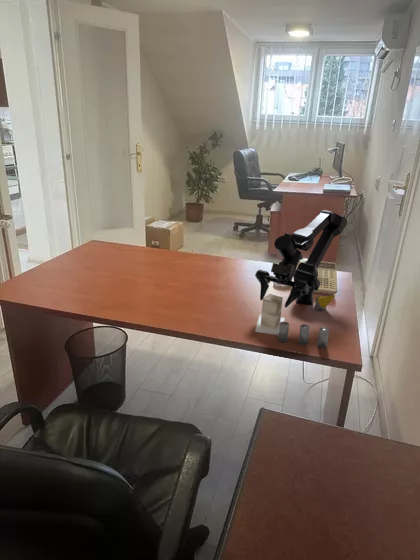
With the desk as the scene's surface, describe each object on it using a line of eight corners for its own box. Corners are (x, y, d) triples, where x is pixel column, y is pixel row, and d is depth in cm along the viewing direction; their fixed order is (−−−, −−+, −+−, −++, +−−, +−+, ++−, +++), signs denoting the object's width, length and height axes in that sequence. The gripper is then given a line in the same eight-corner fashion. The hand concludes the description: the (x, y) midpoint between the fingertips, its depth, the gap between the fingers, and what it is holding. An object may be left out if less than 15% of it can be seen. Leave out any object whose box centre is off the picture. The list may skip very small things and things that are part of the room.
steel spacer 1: (278, 336, 132) (280, 321, 130) (287, 338, 132) (289, 322, 129) (277, 341, 130) (279, 325, 127) (286, 342, 129) (288, 326, 127)
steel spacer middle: (298, 339, 131) (300, 323, 128) (307, 341, 130) (309, 325, 128) (297, 344, 128) (300, 328, 126) (307, 346, 127) (309, 329, 125)
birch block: (267, 319, 142) (269, 293, 138) (280, 323, 140) (282, 297, 136) (260, 324, 138) (262, 298, 134) (273, 328, 136) (276, 302, 132)
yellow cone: (317, 304, 156) (339, 293, 150) (318, 315, 153) (340, 304, 147) (308, 298, 154) (330, 286, 148) (309, 309, 151) (331, 297, 145)
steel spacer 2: (317, 342, 130) (319, 326, 127) (326, 344, 129) (329, 327, 127) (317, 347, 127) (319, 331, 124) (326, 348, 126) (329, 332, 124)
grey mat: (259, 315, 146) (259, 314, 145) (284, 319, 144) (284, 317, 143) (255, 331, 135) (255, 330, 135) (281, 335, 133) (281, 334, 133)
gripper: (259, 247, 138) (241, 287, 134) (310, 259, 129) (293, 301, 125) (267, 262, 148) (251, 299, 143) (316, 274, 138) (300, 314, 134)
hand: (272, 303), depth 136 cm, fingers open, 9 cm apart
